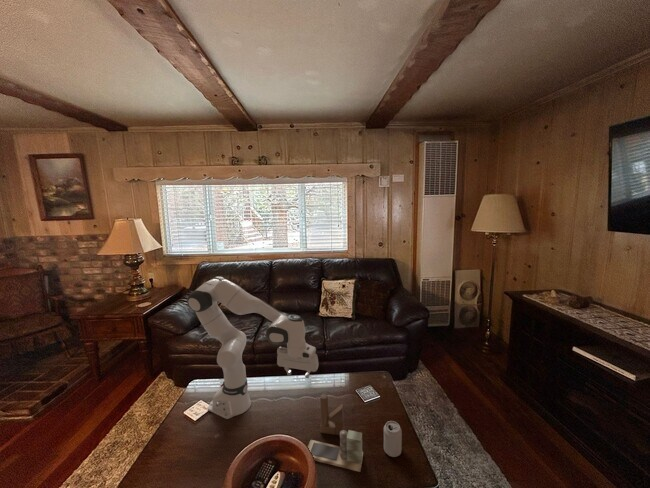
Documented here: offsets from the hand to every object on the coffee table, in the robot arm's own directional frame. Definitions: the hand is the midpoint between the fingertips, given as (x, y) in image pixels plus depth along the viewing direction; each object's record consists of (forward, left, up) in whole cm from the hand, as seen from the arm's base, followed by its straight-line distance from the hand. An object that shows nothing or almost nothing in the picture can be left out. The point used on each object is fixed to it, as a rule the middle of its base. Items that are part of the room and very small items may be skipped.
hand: (298, 376), depth 128 cm
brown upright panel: (+16, 0, -26) cm, 31 cm away
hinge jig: (+20, -12, -26) cm, 35 cm away
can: (+44, -3, -26) cm, 51 cm away
